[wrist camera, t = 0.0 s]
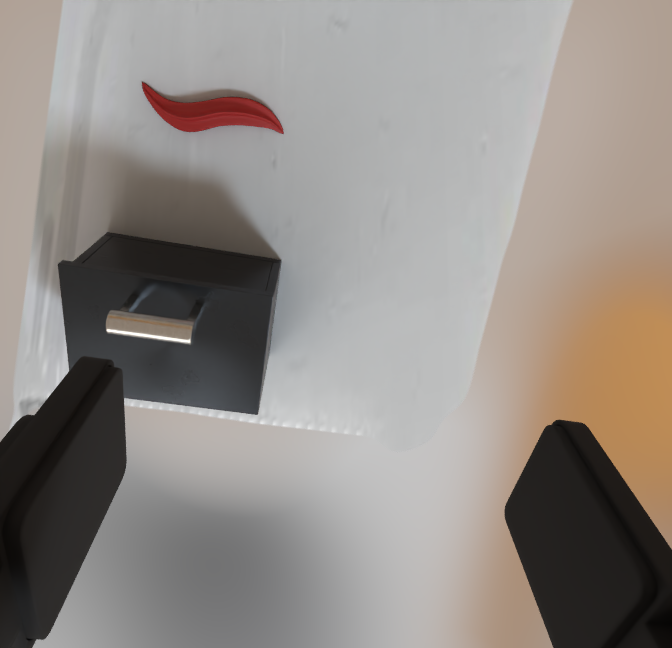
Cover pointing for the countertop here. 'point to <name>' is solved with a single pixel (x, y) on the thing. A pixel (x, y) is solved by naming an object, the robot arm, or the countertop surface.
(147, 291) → the bin lid
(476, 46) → the countertop surface
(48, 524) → the robot arm
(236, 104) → the cayenne pepper
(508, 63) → the countertop surface
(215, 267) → the bin
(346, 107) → the countertop surface
